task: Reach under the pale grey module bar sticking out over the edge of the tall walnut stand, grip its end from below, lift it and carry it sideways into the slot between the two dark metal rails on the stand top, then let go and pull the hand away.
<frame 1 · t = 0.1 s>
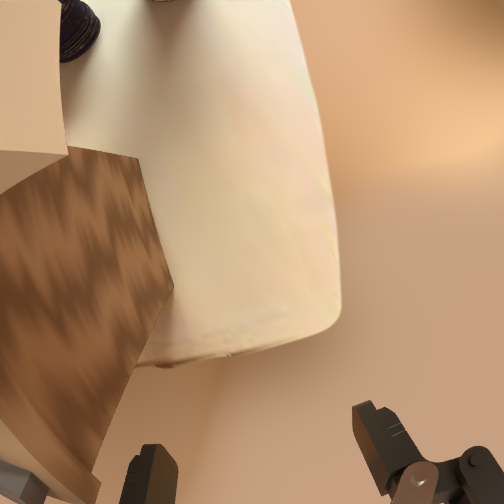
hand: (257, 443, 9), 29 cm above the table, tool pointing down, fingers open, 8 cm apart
dark blue cylinder: (75, 38, 27), on the table
tall stand: (122, 233, 36), on the table
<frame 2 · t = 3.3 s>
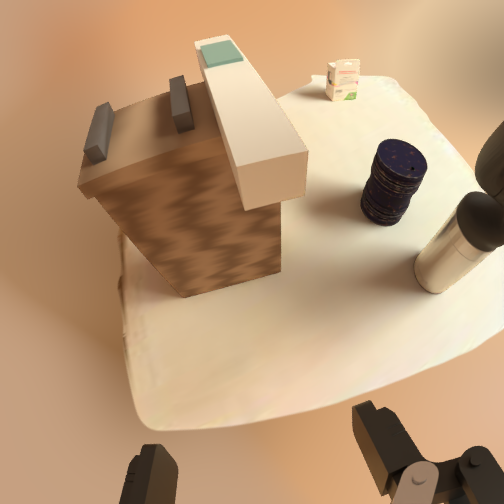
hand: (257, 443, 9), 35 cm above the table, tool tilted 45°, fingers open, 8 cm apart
dark blue cylinder: (381, 207, 55), on the table
tall stand: (225, 260, 52), on the table
module bar: (236, 109, 23), point 32 cm above the table, touching tall stand
ink box: (340, 97, 75), on the table
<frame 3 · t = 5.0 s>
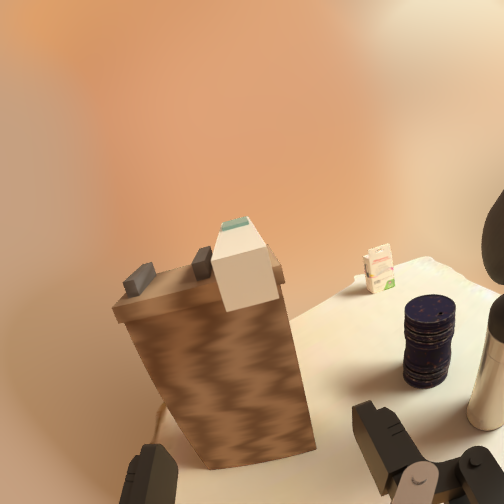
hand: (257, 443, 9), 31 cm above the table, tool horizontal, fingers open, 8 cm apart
dark blue cylinder: (425, 372, 44), on the table
tall stand: (259, 441, 41), on the table
module bar: (245, 264, 32), point 32 cm above the table, touching tall stand
ink box: (380, 288, 85), on the table
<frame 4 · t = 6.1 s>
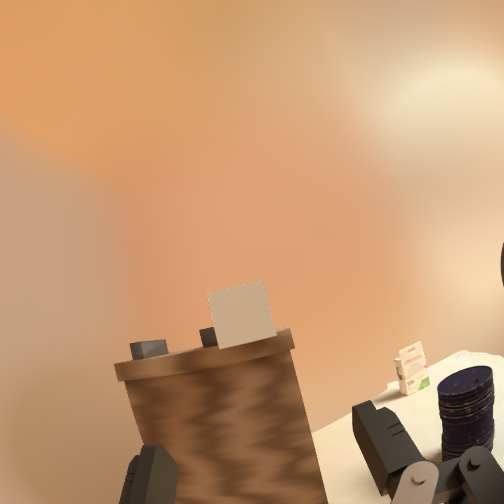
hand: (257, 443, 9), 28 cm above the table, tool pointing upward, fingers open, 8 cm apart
dark blue cylinder: (467, 453, 26), on the table
module bar: (255, 336, 29), point 32 cm above the table, touching tall stand
ink box: (415, 389, 66), on the table
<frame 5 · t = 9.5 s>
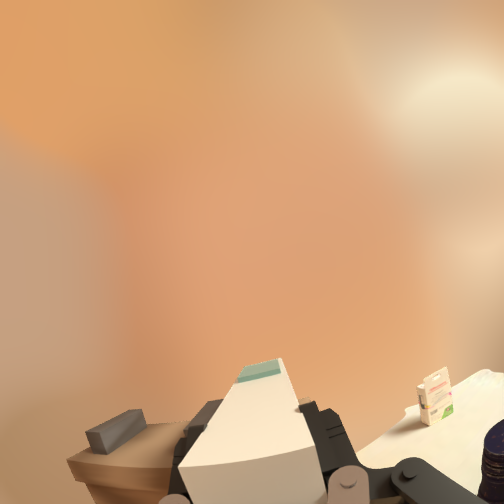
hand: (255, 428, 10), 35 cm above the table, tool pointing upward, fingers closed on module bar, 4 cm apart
dark blue cylinder: (502, 502, 12), on the table
module bar: (273, 434, 16), point 32 cm above the table, touching gripper, tall stand
ink box: (437, 418, 53), on the table
when the fingers open (37 cm above the table, at t = 14.8 s): module bar drops 1 cm, resting on tall stand.
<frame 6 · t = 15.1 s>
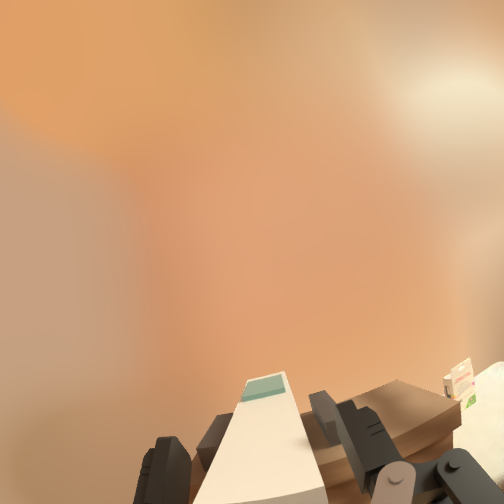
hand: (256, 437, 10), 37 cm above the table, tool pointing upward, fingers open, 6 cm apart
module bar: (277, 452, 16), point 32 cm above the table, touching tall stand
ink box: (461, 407, 53), on the table
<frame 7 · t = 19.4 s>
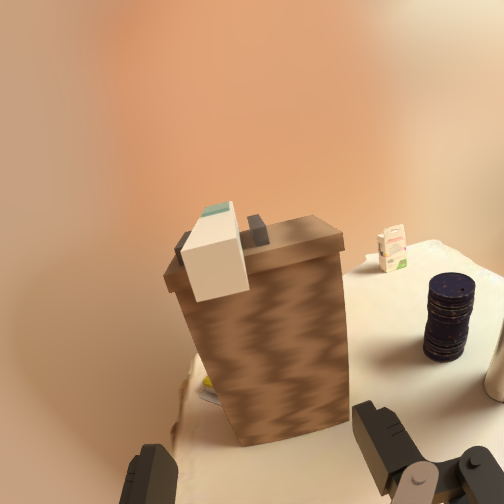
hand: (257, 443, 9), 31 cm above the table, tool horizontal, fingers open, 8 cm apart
dark blue cylinder: (443, 347, 46), on the table
tall stand: (291, 415, 43), on the table
module bar: (224, 251, 31), point 32 cm above the table, touching tall stand
ink box: (392, 267, 86), on the table
emergency button: (236, 382, 55), on the table
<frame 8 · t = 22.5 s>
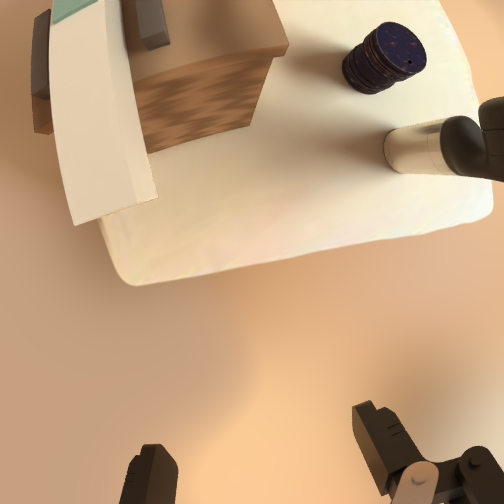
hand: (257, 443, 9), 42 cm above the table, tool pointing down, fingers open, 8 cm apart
dark blue cylinder: (363, 73, 44), on the table
tall stand: (192, 112, 44), on the table
module bar: (100, 55, 14), point 32 cm above the table, touching tall stand
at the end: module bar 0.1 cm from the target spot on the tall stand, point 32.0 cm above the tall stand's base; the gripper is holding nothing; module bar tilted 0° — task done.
